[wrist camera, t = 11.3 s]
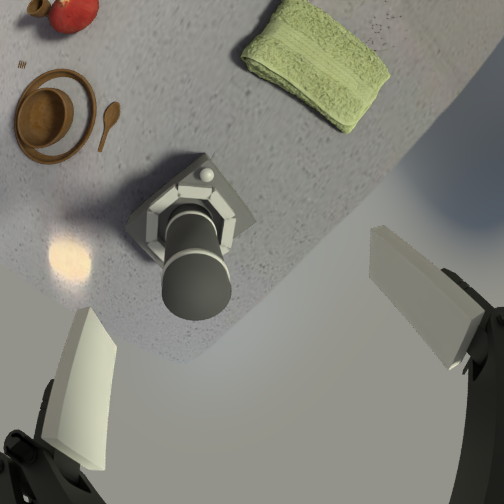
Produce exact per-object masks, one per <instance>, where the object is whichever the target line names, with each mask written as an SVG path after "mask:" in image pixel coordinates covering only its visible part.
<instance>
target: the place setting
mask: <svg viewBox="0 0 504 504" xmlns="http://www.w3.org/2000/svg"><path fill="white" fill-rule="evenodd" d="M50 9H51V4H50V2H49V1H48V0H32V1H31V2H30V3H29V5H28V7H27V12H28V14H30V15H32V16H34V17H38V18H40V17H43V16H45V15H46V17H49V12H50ZM49 20H50V19H49ZM19 65H20V62H19ZM21 65H22V62H21ZM21 65H20V68H21ZM23 65H24V62H23ZM23 65H22V68H23ZM25 65H26V62H25ZM18 68H19V66H18ZM24 68H25V66H24ZM57 77H70V78H73V79H75V80H77V81H78V82H80V83H81V84H82V85H83V86H84V87H85V89H86V90H87V92H88V94H89V97H90V101H91V118H90V123H89V126H88V129H87V131H86V133H85V135H84V136H83V138H82V139H81V141H80V142H79V143H78V144H77V145H76V146H75V147H74V148H73V149H71V150H70V151H68V152H66V153H64V154H61V155H57V156H48V155H44V154H41V153H39V152H38V151H36V150H35V149H34V148H44V147H47V146H50V145H52V144H54V143H56V142H58V141H59V140H60V139H62V138H63V137H64V136H65V135H66V133H67V132H68V130H69V129H70V127H71V124H72V121H73V116H74V108H73V104H72V101H71V99H70V98H69V96H68V95H67V94H66V93H65V92H63V91H61V90H59V89H55V88H41V89H38V88H39V87H40V86H41V85H42V84H43V83H45V82H47V81H48V80H51V79H53V78H57ZM37 89H38V90H37ZM119 116H120V105H119V103H118V102H114V103H112V104H111V105H110V106H109V107H108V109H107V110H106V112H105V115H104V123H105V130H104V133H103V136H102V139H101V142H100V145H99V148H98V152H102V149H103V146H104V143H105V139H106V136H107V133H108V131H109V129H110V128H111V127H112V126H113V125H114V124H115V123H116V122H117V120H118V118H119ZM95 118H96V99H95V95H94V92H93V89H92V87H91V85H90V84H89V82H88V81H87V80H86V79H85V78H84V77H83V76H82V75H80V74H79V73H77V72H75V71H72V70H68V69H55V70H51V71H48V72H46V73H44V74H42V75H40V76H39V77H37V78H36V79H35V80H34V81H33V82H32V83H31V84H30V85H29V86H28V87H27V88H26V90H25V91H24V93H23V94H22V96H21V98H20V100H19V103H18V105H17V109H16V113H15V120H14V128H15V135H16V139H17V142H18V144H19V146H20V148H21V149H22V151H23V152H24V153H25V154H26V155H27V156H28V157H29V158H30V159H32V160H33V161H35V162H38V163H41V164H56V163H60V162H63V161H65V160H67V159H69V158H70V157H72V156H73V155H74V154H76V153H77V152H78V151H79V150H80V149H81V148H82V147H83V145H84V144H85V143H86V141H87V140H88V138H89V136H90V134H91V132H92V129H93V127H94V123H95Z"/></svg>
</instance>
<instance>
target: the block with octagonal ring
mask: <svg viewBox="0 0 504 504" xmlns="http://www.w3.org/2000/svg"><path fill="white" fill-rule="evenodd" d="M187 203H195V204H199V205H201V206H203V207H204V208H206V209H207V210H208V212H209V213H210V215H211V217H212V220H213V223H214V225H215V227H216V231H217V238H218V242H219V246H220V249H221V253H222V256H223V255H224V254H225V253H227V252H228V251H229V249H228V247H231V246H232V240H233V239H234V238H235V237H236V236H238V235H239V234H241V233H242V232H243V231H245V230H246V229H247V228H249V227H250V226H251V225H253V224H254V223H256V220H255V218H254V217H253V215H252V214H251V212H250V211H249V209H248V207H247V206H246V205H245V204H244V202H243V201H242V200H241V198H240V197H239V196H238V194H237V193H236V192H235V190H234V189H233V188H232V187H231V185H230V184H229V183H228V181H227V180H226V179H225V177H224V176H223V175H222V174H221V172H220V171H219V170H218V168H217V167H216V166H215V165H214V163H213V162H212V161H211V159H210V158H209V157H208V156H207V154H206V153H204V154H203V155H202V156H200V157H199V158H198V159H196V160H195V161H194V162H193V163H191V164H190V165H189V166H187V167H186V168H185V169H184V170H182V171H181V172H180V173H179V174H177V175H176V176H175V177H174V178H172V179H171V180H170V181H169V182H168V183H166V184H165V185H164V186H163V187H161V188H160V189H159V190H158V191H157V192H156V193H154V194H153V195H152V196H151V197H150V198H148V199H147V200H146V201H145V202H144V203H143V204H142V205H140V206H139V207H138V208H137V209H136V210H135V211H134V212H133V213H131V215H130V217H129V219H128V221H127V224H126V226H125V228H124V230H125V231H126V232H127V233H128V234H129V235H130V236H131V237H132V239H133V240H134V241H135V242H136V243H137V244H138V245H139V246H140V247H141V248H142V249H143V250H144V251H145V252H146V253H147V254H148V255H149V256H150V257H151V258H152V259H153V260H154V261H155V262H156V263H157V264H158V265H159V266H160V267H161V268H162V269H163V267H164V255H165V245H166V239H165V235H166V229H167V225H168V219H169V216H170V215H171V213H172V212H173V210H175V209H176V208H177V207H178V206H180V205H183V204H187Z"/></svg>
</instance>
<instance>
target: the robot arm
mask: <svg viewBox="0 0 504 504" xmlns="http://www.w3.org/2000/svg"><path fill="white" fill-rule="evenodd" d="M369 278H371V280H372V281H373V282H374V283H375V284H376V285H377V286H378V287H379V289H380V290H381V291H382V292H383V293H384V294H385V295H386V296H387V297H388V298H389V299H390V301H391V302H392V303H393V304H394V305H395V307H396V308H397V309H398V310H399V311H400V312H401V313H402V315H403V316H404V317H405V318H406V319H407V320H408V322H409V323H410V324H411V325H412V326H413V328H414V329H415V330H416V331H417V332H418V334H419V335H420V336H421V337H422V338H423V340H424V341H425V342H426V343H427V344H428V346H429V347H430V348H431V349H432V351H433V352H434V353H435V354H436V356H437V357H438V358H439V359H440V361H441V362H442V363H443V365H444V366H445V367H446V368H447V370H450V369H452V368H453V367H455V366H456V365H458V364H459V363H461V362H462V360H463V358H464V356H465V354H466V352H467V353H468V354H469V355H470V356H471V357H470V359H469V360H468V362H467V364H466V366H465V368H464V369H463V373H462V374H465V373H466V371H467V369H469V370H468V371H469V372H468V397H467V409H466V420H465V428H464V436H463V443H462V449H461V455H460V460H459V465H458V470H457V475H456V479H455V483H454V487H453V491H452V495H451V498H450V502H449V504H504V307H497V308H494V307H492V306H491V305H490V304H489V303H488V302H487V301H486V300H485V299H484V298H483V297H482V296H481V295H479V294H478V293H477V292H476V291H475V290H474V289H473V288H472V287H471V288H470V286H469V285H468V284H467V283H466V282H464V281H463V279H461V278H460V277H459V276H458V275H457V274H456V273H454V272H452V271H450V270H447V269H445V268H443V269H441V270H439V268H437V267H436V266H435V265H434V264H433V263H431V262H430V261H429V260H428V259H427V258H425V257H424V256H423V255H422V254H420V253H419V252H418V251H417V250H416V249H414V248H413V247H412V246H410V245H409V244H408V243H407V242H405V241H404V240H403V239H402V238H400V237H399V236H397V235H396V234H395V233H394V232H392V231H391V230H390V229H388V228H387V227H386V226H384V225H382V226H379V227H376V228H372V229H371V237H370V267H369ZM116 351H117V347H116V345H115V344H114V342H113V341H112V339H111V338H110V336H109V335H108V333H107V332H106V330H105V329H104V327H103V326H102V324H101V323H100V321H99V320H98V318H97V316H96V315H95V313H94V311H93V310H92V308H91V307H86V308H82V309H79V310H77V312H76V315H75V318H74V320H73V323H72V326H71V329H70V331H69V334H68V338H67V340H66V343H65V346H64V349H63V352H62V356H61V359H60V362H59V366H58V369H57V373H56V376H55V379H52V380H50V382H49V384H48V385H47V387H46V389H45V392H44V395H43V399H42V400H43V402H42V403H41V407H40V409H41V410H40V412H39V416H38V420H37V425H36V429H35V435H34V439H31V438H30V437H29V436H28V435H26V434H25V433H24V432H22V431H20V430H13V431H12V432H10V433H9V434H8V436H7V437H6V439H5V442H4V453H1V452H0V504H106V503H105V502H104V500H103V499H102V498H101V497H100V495H99V494H98V493H97V491H96V490H95V489H94V487H93V486H92V484H91V483H90V482H89V480H88V479H87V477H86V476H85V475H84V474H83V473H82V472H81V471H80V465H82V466H84V467H85V468H87V469H89V470H105V457H106V437H107V423H108V413H109V412H108V411H109V402H110V393H111V385H112V377H113V370H114V363H115V358H116ZM5 454H6V455H7V456H6V455H5ZM8 456H9V457H10V458H9V457H8ZM23 495H25V496H27V497H28V499H29V503H28V502H26V501H24V498H23Z"/></svg>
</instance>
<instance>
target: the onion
mask: <svg viewBox="0 0 504 504" xmlns="http://www.w3.org/2000/svg"><path fill="white" fill-rule="evenodd" d="M98 9H99V1H98V0H55V2H54V3H53V4H52V7H51V9H50V12H49V19H50V25H51V26H52V27H53V28H54V29H55V30H56V31H57V32H61V33H64V34H70V33H76V32H78V31H80V30H83V29H84V28H86V27H87V26H88V25H89V24H91V22H92V21H93V20H94V18H95V17H96V15H97V12H98Z"/></svg>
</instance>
